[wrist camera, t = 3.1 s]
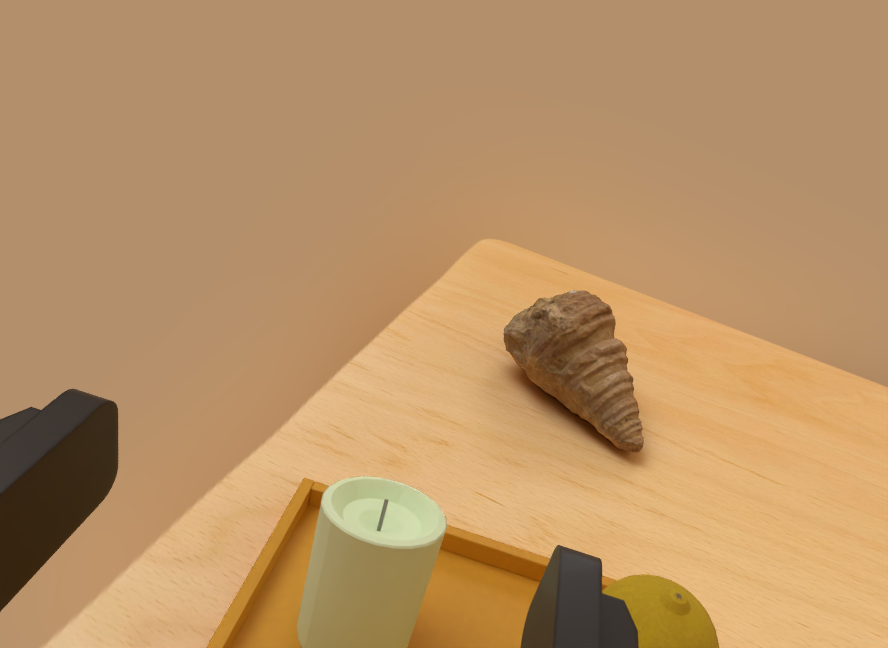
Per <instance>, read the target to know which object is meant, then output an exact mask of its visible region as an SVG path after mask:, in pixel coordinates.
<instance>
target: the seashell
mask: <svg viewBox="0 0 888 648" xmlns="http://www.w3.org/2000/svg"><path fill="white" fill-rule="evenodd" d="M615 324H616V323H615V318H614V316H613V314H612V310H611V308H610V306H609V305H608V304H605V303H604V302H602V301H601V299H600V298H599V297H597V296H596V295H592V294H590V293H589V292H587V291H570V292H567V293H564V294H562V295H557V296H554V297H552V298H549V299H547V298H540V299H538V300H537V301H536V302H535V304H534V305H533V306H531V307H530V308H528V309H525V310H524V311H522V312H520V313H519V314H517V315H515V316H514V317H513V319H512V320H511V322H510V323H509V324H508V325H506V327H505V328H504V342H505V345H506V350H507V351H508V352H509V353H510V354H511V355H512V357H513V358H514V360H515V361H516V363H517V364H518V365H519V366H520V367H522V368H524V369H525V370H526V375H527V377H528V378H529V380H530V381H532V382H534V383H535V384H536V385H537V386H539V387H540V388H541V389H543V390H544V391H545V392H547V393H548V394H550V395H552V396H553V397H555V398H557V400H558V401H560V402H561V403H562V404H564V405H565V407H567V408H568V409H569V410H570V411H571V412H573V413H575V414H578V415H579V416H580V417H581V419H585V420H587V421H588V422H589V423H591V424H592V425H594V426H595V427H596V429H597V431H598V432H599V433H601V434H602V435H604V436H605V437H606V438H607V439H609V440H610V441H611V442H612V443H613V444H614V445H615V446H616V447H617V448H619V449H623V450H627V451H632V452H639V451H640V450H641V449H642V447H643V436H642V429H643V428H642V425H641V421H640V420H639V419H638V414H639V409H638V404H637V401H636V399H635V398H634V396H633V391H634V387H633V384H632V382H633V377H632V376H631V375H630V374H629V373H628V372H627V366H626V365H627V363H628V358H627V356H626V351H627V348H626V346H625V345H624V344H623V343H622V341H620V340H618V339H614V329H615Z"/></svg>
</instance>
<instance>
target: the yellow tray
mask: <svg viewBox="0 0 888 648" xmlns="http://www.w3.org/2000/svg"><path fill="white" fill-rule="evenodd" d="M328 487H329V486H328V485H324V484H321V483H318V482H315V483H314V481H313V480H310V479H307V478H304V479H303V481H302V482H301V484H300V486H299V488H298V489H297V491H296V493H295V494H294V496H293V498H292V500H291V501H290V503H289V505H288V507H287V508H286V510H285V512H284V514H283V515H282V517H281V519H280V521H279V522H278V524H277V526H276V527H275V529H274V531H273V533H272V534H271V536H270V538H269V540H268V541H267V543H266V545H265V547H264V548H263V550H262V552H261V554H260V555H259V557H258V559H257V560H256V562H255V564H254V566H253V567H252V569H251V571H250V573H249V574H248V576H247V578H246V580H245V581H244V583H243V585H242V587H241V588H240V590H239V592H238V593H237V595H236V597H235V599H234V600H233V602H232V604H231V606H230V607H229V609H228V611H227V613H226V614H225V616H224V618H223V620H222V621H221V623H220V625H219V626H218V628H217V630H216V632H215V633H214V635H213V637H212V639H211V640H210V642H209V644H208V646H207V647H206V648H302V647H301V645H300V642H299V640H298V632H297V622H298V617H299V612H300V607H301V602H302V597H303V592H304V586H305V581H306V576H307V571H308V566H309V561H310V556H311V551H312V546H313V541H314V536H315V531H316V526H317V521H318V515H319V510H320V505H321V500H322V495H323V493H324V492H325V490H326V489H327V488H328ZM549 561H550V558H547V557H544V556H541V555H538V554H535V553H532V552H528V551H525V550H522V549H519V548H516V547H513V546H510V545H507V544H504V543H501V542H498V541H495V540H492V539H489V538H486V537H483V536H480V535H477V534H474V533H471V532H468V531H465V530H461V529H458V528H455V527H452V526H449V525H447V528H446V531H445V534H444V538H443V541H442V544H441V547H440V550H439V553H438V556H437V559H436V562H435V565H434V568H433V571H432V574H431V577H430V580H429V583H428V586H427V589H426V592H425V595H424V598H423V601H422V605H421V608H420V611H419V614H418V617H417V620H416V623H415V626H414V629H413V632H412V635H411V638H410V641H409V644H408V647H407V648H521V640H522V634H523V629H524V625H525V621H526V617H527V613H528V610H529V607H530V604H531V602H532V599H533V597H534V595H535V593H536V590H537V588H538V586H539V583H540V581H541V579H542V577H543V574H544V572H545V570H546V568H547V565H548V563H549ZM616 581H617V580H614V579H611V578H608V577H605V576H602V591H603V590H604V589H605V588H606V587H607V586H609V585H610V584H612V583H614V582H616Z"/></svg>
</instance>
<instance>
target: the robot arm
mask: <svg viewBox="0 0 888 648" xmlns="http://www.w3.org/2000/svg"><path fill="white" fill-rule="evenodd" d="M117 470H118V408H117V405H116V404H115V403H114V402H113V401H110V400H107V399H104V398H101V397H98V396H94V395H92V394H89V393H85V392H82V391H79V390H76V389H69V390H67V391H65V392H64V393H62V394H61V395H60V396H58V397H57V398H56V399H55V400H53V401H52V402H51V403H50V404H48V405H47V406H46V407H45V408H44V409H42V410H39V409H36V408H33V407H30V408H28V409H25V410H23V411H20V412H18V413H15V414H13V415H10V416H8V417H5V418H3V419H0V611H1V610H2V609H3V608H4V607H5V606H6V605H7V604H8V603H9V602H10V601H11V599H12V598H13V597H14V596H15V595H16V594H17V593H18V592H19V591H20V590H21V589H22V587H23V586H24V585H25V584H26V583H27V582H28V581H29V580H30V579H31V578H32V577H33V576H34V574H36V572H37V571H38V570H39V569H40V568H41V567H42V566H43V565H44V564H45V563H46V561H47V560H48V559H49V558H50V557H51V556H52V555H53V554H54V553H55V552H56V551H57V550H58V549H59V548H60V547H61V545H62V544H63V543H64V542H65V541H66V540H67V539H68V538H69V537H70V536H71V534H72V533H73V532H74V531H75V530H76V529H77V528H78V527H79V526H80V525H81V524H82V523H83V522H84V521H85V519H86V518H87V517H88V516H89V515H90V514H91V513H92V512H93V511H94V510H95V509H96V508H97V507H98V505H99V504H100V503H101V502H102V501H103V500H104V499H105V497H106V496H107V494H108V493H109V491H110V489H111V487H112V485H113V483H114V481H115V478H116V474H117ZM521 648H639V646H638V630H637V628H636V626H635V623H634V621H633V619H632V617H631V614H630V612H629V610H628V608H627V605H626V603H625V601H624V600H621V599H618V598H615V597H612V596H609V595H606V594H603V593H602V562H601V559H600V558H597V557H594V556H591V555H588V554H584V553H581V552H578V551H575V550H572V549H569V548H566V547H563V546H560V545H558V546H557V547H556V548H555V550H554V552H553V554H552V556H551V559H550V561H549V563H548V565H547V568H546V570H545V572H544V574H543V577H542V579H541V581H540V583H539V586H538V588H537V590H536V593H535V595H534V597H533V599H532V602H531V604H530V607H529V610H528V613H527V617H526V621H525V625H524V629H523V634H522V640H521Z"/></svg>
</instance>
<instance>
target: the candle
mask: <svg viewBox="0 0 888 648" xmlns="http://www.w3.org/2000/svg"><path fill="white" fill-rule="evenodd" d="M446 528H447V522H446V517H445V515H444V513H443V512H442V510H441V508H440V507H439V506H438V505H437V504H436V503H435V502H434V501H433V500H432V499H431V498H430V497H428V496H427V495H425V494H424V493H422V492H421V491H419V490H417V489H415V488H413V487H411V486H408V485H406V484H403V483H400V482H397V481H394V480H389V479H384V478H379V477H365V476H363V477H351V478H347V479H344V480H340V481H338V482H336V483H334V484H332V485H331V486H329V487H328V488H327V489H326V490H325V492H324V493H323V495H322V500H321V505H320V510H319V515H318V521H317V526H316V531H315V536H314V541H313V546H312V551H311V556H310V561H309V566H308V571H307V576H306V581H305V586H304V592H303V597H302V602H301V607H300V612H299V617H298V622H297V632H298V640H299V642H300V645H301V647H302V648H407V647H408V644H409V641H410V638H411V635H412V632H413V629H414V626H415V623H416V620H417V617H418V614H419V611H420V608H421V605H422V601H423V598H424V595H425V592H426V589H427V586H428V583H429V580H430V577H431V574H432V571H433V568H434V565H435V562H436V559H437V556H438V553H439V550H440V547H441V544H442V541H443V538H444V534H445V531H446Z"/></svg>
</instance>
